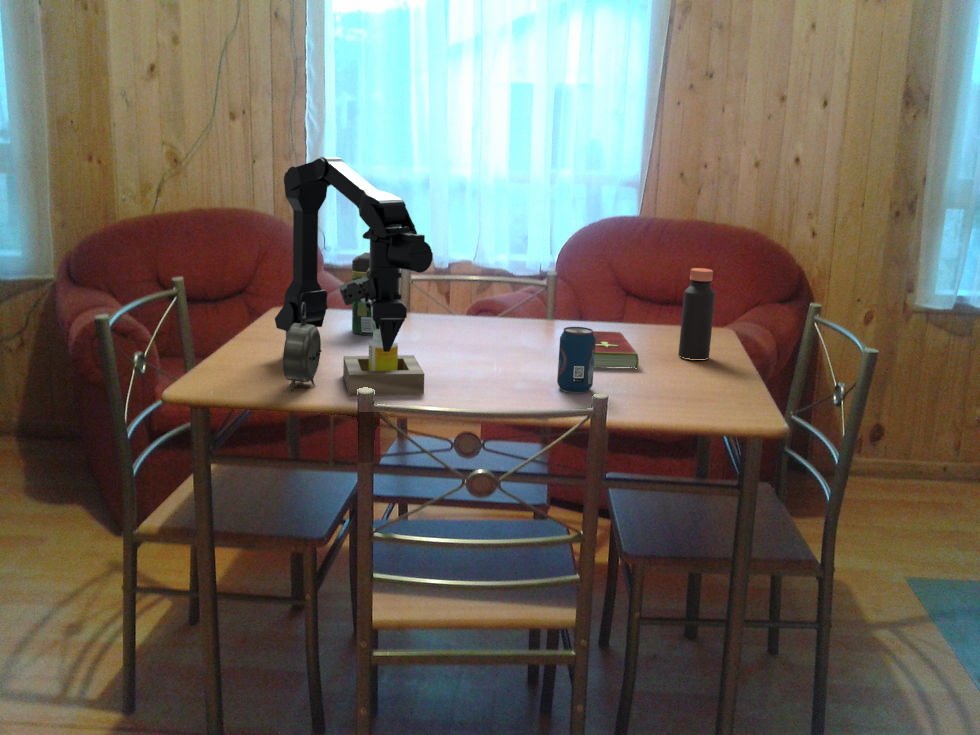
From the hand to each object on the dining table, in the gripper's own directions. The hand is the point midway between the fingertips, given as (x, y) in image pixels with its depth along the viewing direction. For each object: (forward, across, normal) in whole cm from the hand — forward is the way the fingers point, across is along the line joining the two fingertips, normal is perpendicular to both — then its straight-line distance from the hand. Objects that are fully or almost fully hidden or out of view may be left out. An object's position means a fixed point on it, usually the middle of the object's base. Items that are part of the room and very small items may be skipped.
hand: (383, 345), depth 194 cm
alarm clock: (+8, 0, -15) cm, 17 cm away
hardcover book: (+8, -20, +51) cm, 55 cm away
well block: (+8, 0, 0) cm, 8 cm away
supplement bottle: (+8, 0, 0) cm, 8 cm away
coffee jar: (+8, -46, +2) cm, 47 cm away
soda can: (+8, +6, +37) cm, 38 cm away
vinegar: (+8, -17, +72) cm, 74 cm away
